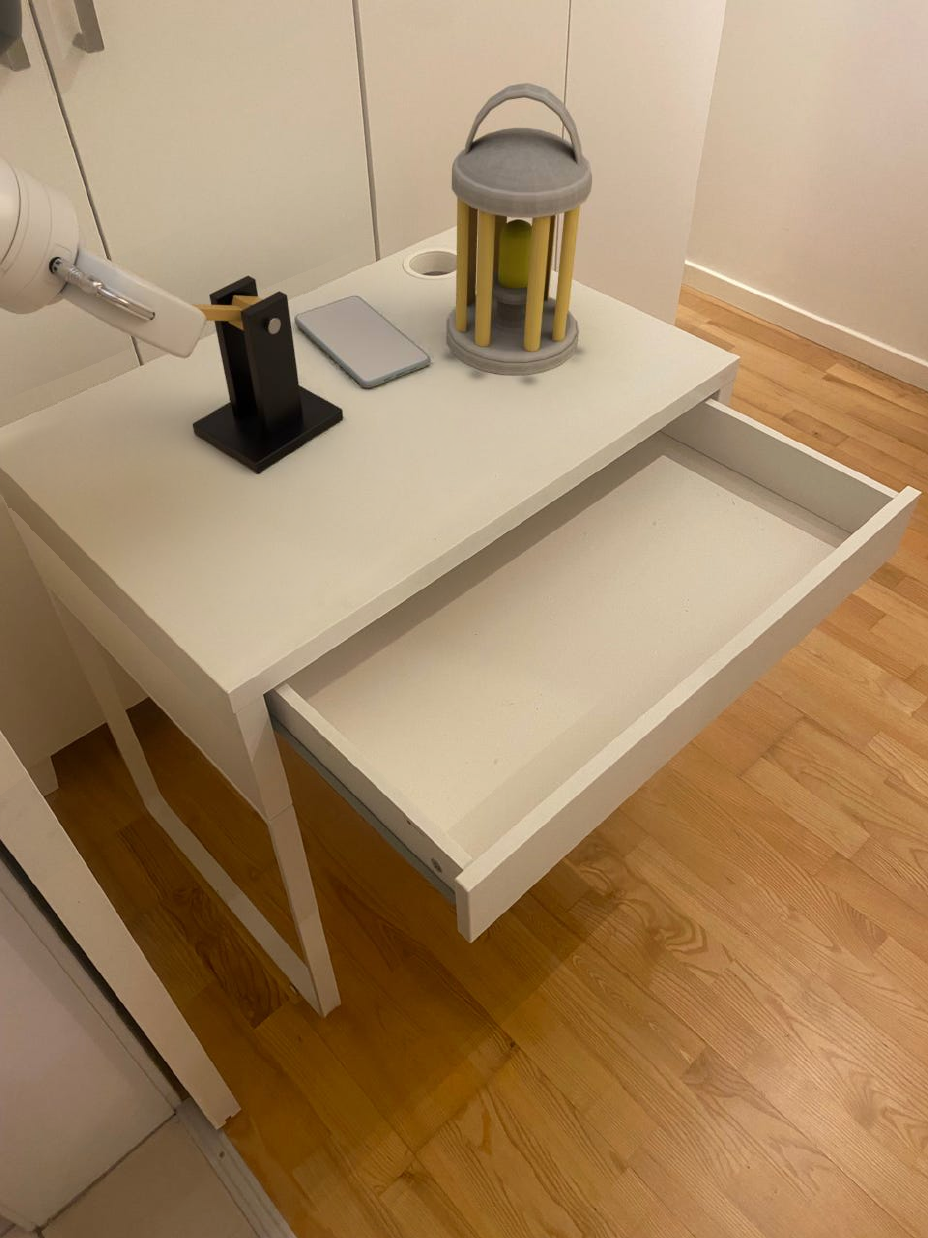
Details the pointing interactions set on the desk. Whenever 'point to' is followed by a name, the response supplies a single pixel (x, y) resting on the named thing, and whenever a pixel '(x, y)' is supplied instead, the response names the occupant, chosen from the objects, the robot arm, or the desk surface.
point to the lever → (228, 310)
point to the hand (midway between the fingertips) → (163, 314)
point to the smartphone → (362, 341)
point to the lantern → (516, 242)
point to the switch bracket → (262, 385)
